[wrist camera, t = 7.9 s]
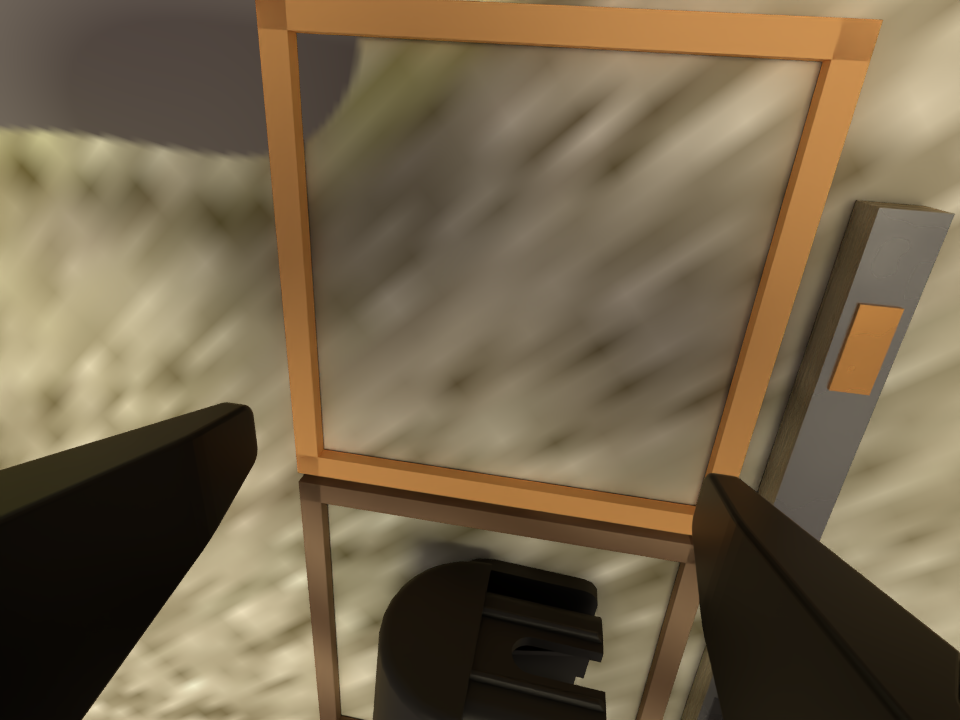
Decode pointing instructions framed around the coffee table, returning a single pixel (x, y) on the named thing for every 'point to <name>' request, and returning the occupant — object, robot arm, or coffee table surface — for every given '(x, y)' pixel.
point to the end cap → (489, 646)
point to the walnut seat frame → (497, 519)
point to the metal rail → (843, 372)
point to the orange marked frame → (436, 16)
